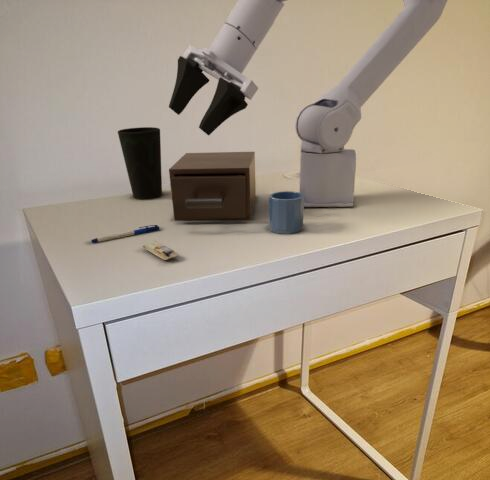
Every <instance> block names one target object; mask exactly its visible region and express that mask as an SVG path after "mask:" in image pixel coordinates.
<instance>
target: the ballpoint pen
mask: <svg viewBox="0 0 490 480" xmlns="http://www.w3.org/2000/svg"><path fill="white" fill-rule="evenodd" d="M159 230H160V227H159V225H158V224H151V225H144V226H140V227H138V229H134V230H129V231H125V232H120V233H115V234H111V235H110V234H109V235H105V236H100V237H96V238H93V239H91V240H90V242H91V243H100V242H106V241H111V240H115V239H121V238H127V237H130V236H136V235H142V234H148V233H152V232H156V231H159Z"/></svg>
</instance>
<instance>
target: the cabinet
mask: <svg viewBox="0 0 490 480" xmlns="http://www.w3.org/2000/svg"><path fill="white" fill-rule="evenodd" d="M168 172H169V182H170V185H171V180H170V178H171V177H178V176H179V175H180V174H231V173H245V174H244V175H245V185H246V218H201V219H175V216H174V215H173V219H174V221H227V220H228V221H229V220H232V221H233V220H234V221H235V220H238V221H239V220H240V221H241V220H248V221H249V220H251V219H252V216H253V211H254V206H255V201H256V197H257V194H256V193H257V190H256V189H257V188H256V151H222V152H221V151H219V152H217V151H215V152H214V151H213V152H186V153H184V154H183V156H181V157H180V158H179V159H178V160H177V161H176V162H174V164H173V165H172V166H171V167H170V168H168ZM170 192H171V193H170V194H172V189H171V188H170ZM171 200H172V203H173V198H172V197H171ZM172 209H173V210H172V211H173V212H174V207H173V206H172Z"/></svg>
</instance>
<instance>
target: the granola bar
mask: <svg viewBox="0 0 490 480" xmlns="http://www.w3.org/2000/svg"><path fill="white" fill-rule="evenodd" d="M141 247H142V248H144V249H145V250H146V251H148V252H150V253H151V254H153V255H155V256H156V257H158V258H160V259H162V260H164V261H168V260H171V259H174V258H175V257H178V256H179V254H178V253H177V252H176V251H175V250H174V249H172V248H170V247H168V246H166V245H164V244H162V243H160V242H159V241H156V240H154V241H150V242H146V243H145V244H142V245H141Z"/></svg>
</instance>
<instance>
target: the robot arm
mask: <svg viewBox="0 0 490 480" xmlns="http://www.w3.org/2000/svg"><path fill="white" fill-rule="evenodd" d="M286 1H287V0H237V1H236V3H235V4H234V7H233V8H232V10H231V11H230V13H229V15H228V16H227V18H226V20H225V21H224V23H223V25H222V26H221V28H220V29H219V31H218V33H217V34H216V36H215V38H214V39H213V41H212V42H211V44H210V46H209V47H208V48H207V47H203V48H202V49H201V48H197V47H194V46H192V45H188V47H187V48H186V49H185V51H184V53H183V55H180V56H179V57H178V58H177V71H176V78H175V82H174V83H175V84H174V87H173V90H172V94H171V97H170V101H169V104H168V108H169V109H170V110H172V111H173V112H174V113H175V114H176V115H177V116H180V115H181V114H182V113H183V111H184V110H185V109H186V107H187V106H188V104H189V103H190V102H191V100H192V99H193V97H194V96H195V95H196V94H197V93H198V92H199V91H200V90H201V89H203V87H204V86H205V85H207V84H208V83H209V82H210V78H208V77H207V75H205V74H204V73H203V72H205V73H206V74H208V75H210V76H211V77H213V78H215V79H217V84H216V85H217V86H216V88H215V92H214V95H213V97H212V99H211V102H210V104H209V106H208V108H207V110H206V112H205V114H204V115H203V117H202V118H201V120H200V123H199V126H198V128H199V129H200V130H201V131H202V132H204V133H205V135H207V136H211V134H212V133H213V132H214V131H216V130H217V128H219V127H220V126H221V125H222V124H223V123H224V122H225V121H227V120H228V119H229V118H231V117H232V116H234V115H236V114H237V113H239V112H241V111H243V110H246V108H247V107H248V105H249V103H248V102H247V101H246V99H248V100H250V101H251V100H252V99H253V97H254V96H255V95H256V93H257V92H258V90H259V86H258V85H256V83H255V82H254V81H253V79H251V78H249V77H247V76H246V75H245V74H244V73H243V72H244V71H245V69H246V68H247V66H248V64H249V63H250V61H251V60H252V59H253V57H254V55H255V54H256V52H257V50H258V48H259V47H260V45H261V44H262V42H263V41H264V39H265V37H266V36H267V35H268V33H269V31H270V30H271V28H272V27H273V25H274V23H275V20H276V19H277V17H278V16H279V14H280V12H281V11H282V10H283V8H284V6H285V3H284V2H286ZM447 3H448V0H403V4H404V5H403V9H402V10H401V11H400V12H399V13H398V14H397V16H395V18H394V19H393V20H392V21H391V22H390V23H389V24H388V25H387V26H386V28H385V29H384V30H383V31H382V33H380V35H378V37H377V38H376V39H375V40H374V42H373V43H372V44H371V45H370V46H369V47H368V49H367V50H366V51H365V52H364V53H363V55H362V56H360V58H359V59H358V60H357V61H356V62H355V64H354V65H353V66H352V67H351V68H350V69H349V71H347V73H346V74H345V75H344V76H343V77H342V79H340V81H339V82H338V83H337V84H336V85H335V86H334V87H332V88H330V89H329V90H327V91H325V92H324V93H322V94H320V96H319V97H318V98H317V99H316V100H315V101H314V102H312V103H309V104H307V105H306V106H304V107H302V108H301V109H300V111H299V112H298V113H297V116H296V118H295V124H294V128H295V133H296V135H297V137H298V138H299V139H300V140H301V144H300V155H299V156H300V157H299V158H300V161H299V193H302V194H304V208H339V207H341V208H345V207H351V208H352V207H353V206H354V195H355V194H354V193H355V182H356V168H357V154H356V150H355V149H349V148H348V149H347V148H345V146H346V145H347V144H348V142H349V141H350V139H351V137H352V134H353V131H354V129H355V127H356V126H357V125H358V123H359V122H360V121H361V120H362V107H363V106H364V105H365V103H366V102H367V101H368V100H369V99H370V98H371V97H372V96H373V95H374V93H376V91H377V90H378V89H379V88H380V87H381V86H382V84H383V83H384V82H385V81H386V80H387V78H388V77H390V75H392V73H393V72H394V71H395V70H396V69H397V67H399V65H400V64H401V63H402V62H403V61H404V60H405V58H406V57H407V56H408V55H409V54H410V53H411V51H413V49H414V48H415V47H416V46H417V45H418V43H419V42H420V41H422V39H423V38H424V37H425V36H426V35H427V34H428V33H429V31H430V30H431V29H432V28H433V27H434V26H435V25H436V23H437V22H438V21H439V19H440V18H441V16H442V15H443V12H444V10H445V7H446V5H447Z"/></svg>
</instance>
